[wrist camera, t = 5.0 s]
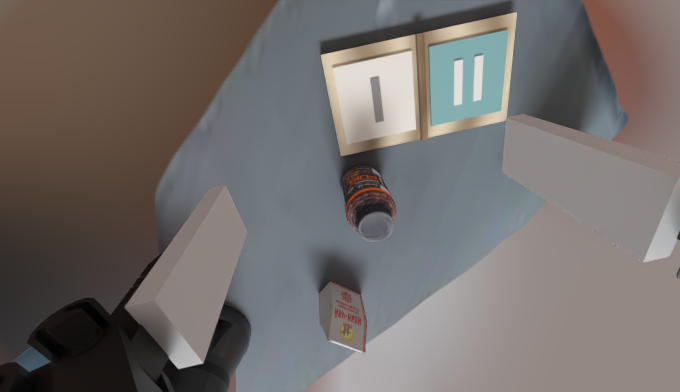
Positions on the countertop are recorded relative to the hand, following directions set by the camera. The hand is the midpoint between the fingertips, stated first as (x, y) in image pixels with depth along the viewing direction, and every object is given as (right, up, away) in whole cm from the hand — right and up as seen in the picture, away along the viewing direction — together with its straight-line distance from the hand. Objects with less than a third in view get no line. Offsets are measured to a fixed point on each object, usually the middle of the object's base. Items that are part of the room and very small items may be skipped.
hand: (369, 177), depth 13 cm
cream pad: (+3, +11, +20) cm, 23 cm away
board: (+8, +12, +21) cm, 26 cm away
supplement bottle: (+2, +1, +27) cm, 27 cm away
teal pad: (+14, +13, +20) cm, 28 cm away
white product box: (-1, -18, +37) cm, 41 cm away
